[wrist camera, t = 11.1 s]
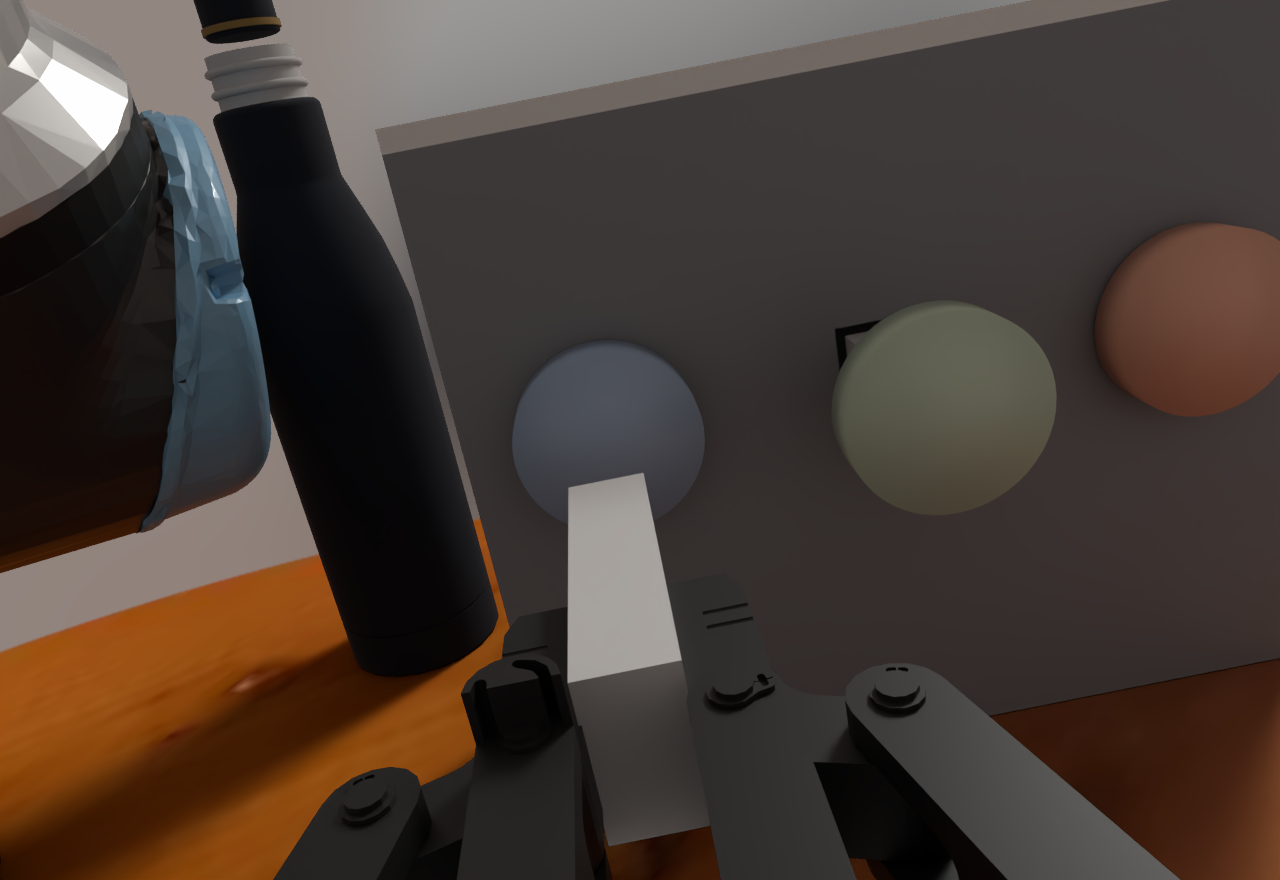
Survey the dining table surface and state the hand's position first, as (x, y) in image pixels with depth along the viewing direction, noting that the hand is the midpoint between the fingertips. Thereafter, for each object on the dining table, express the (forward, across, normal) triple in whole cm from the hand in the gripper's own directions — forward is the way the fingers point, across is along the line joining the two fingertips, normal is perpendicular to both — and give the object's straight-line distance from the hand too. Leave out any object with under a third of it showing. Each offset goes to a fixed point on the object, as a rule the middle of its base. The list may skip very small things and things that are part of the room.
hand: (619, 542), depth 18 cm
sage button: (+5, +8, -3) cm, 10 cm away
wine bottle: (+20, -10, -12) cm, 25 cm away
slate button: (+8, 0, -3) cm, 8 cm away
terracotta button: (+8, +16, -3) cm, 18 cm away
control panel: (+10, +8, -12) cm, 18 cm away
